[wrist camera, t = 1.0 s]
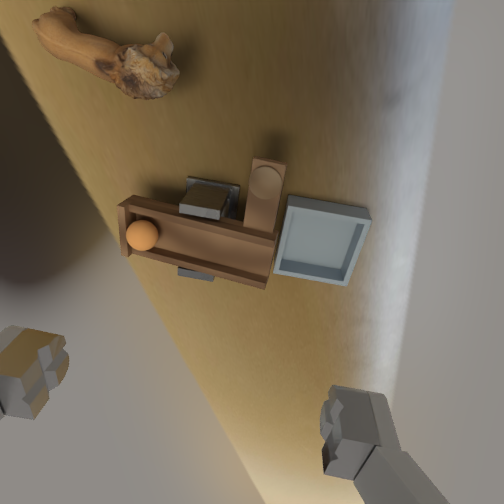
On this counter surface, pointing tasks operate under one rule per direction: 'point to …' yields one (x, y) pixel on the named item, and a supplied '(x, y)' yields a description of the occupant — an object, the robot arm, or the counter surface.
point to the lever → (215, 231)
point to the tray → (320, 240)
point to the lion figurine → (110, 55)
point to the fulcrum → (208, 208)
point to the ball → (142, 235)
